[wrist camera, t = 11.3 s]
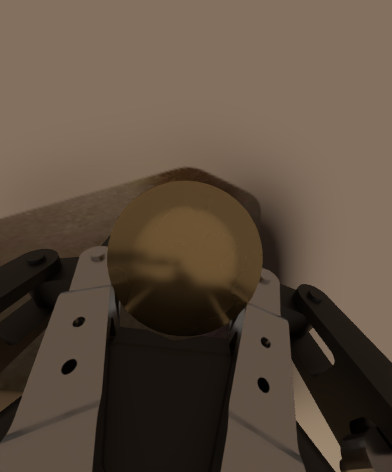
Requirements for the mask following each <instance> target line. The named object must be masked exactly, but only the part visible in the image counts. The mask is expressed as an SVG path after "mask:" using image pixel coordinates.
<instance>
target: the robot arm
mask: <svg viewBox="0 0 392 472" xmlns="http://www.w3.org/2000/svg"><path fill="white" fill-rule="evenodd" d="M110 236H111V235H110ZM110 236H109V237H108V239H107V240H106V241H105V242H104V243H103V244H102V245H101V246H97V247H92V248H90V249H87V250H86V251H84V252H83V253H82V254H81V255H80V257H73V258H59V255H58V253H57V252H56V251H54V250H51V249H40V250H35V251H31V252H28V253H26V254H24V255H22V256H20V257H18V258H16V259H14V260H12V261H10V262H8V263H6V264H5V265H3V266H1V267H0V313H1V312H3V311H4V310H5V309H7V308H8V307H9V306H11V305H12V304H14V303H15V302H16V301H18V300H19V299H21V298H22V297H23V296H25V295H26V294H27V293H29V294H30V296H31V297H32V298H31V299H30V300H29V301H27V302H26V303H25V304H23V305H22V306H21V307H20V308H18V309H17V310H16V311H14V312H13V313H12V314H10V315H9V316H8V317H6V318H5V319H4V320H2V321H1V322H0V372H1V371H2V370H4V369H5V368H6V367H7V366H8V365H9V364H10V363H11V362H12V361H13V360H14V359H15V358H16V357H17V356H18V355H19V354H20V353H21V352H22V351H23V350H24V349H25V348H26V347H27V346H28V345H29V344H30V343H31V342H32V341H33V340H35V339H36V338H37V337H38V336H39V335H40V334H41V333H42V332H43V331H44V330H45V329H46V328H47V329H46V332H45V335H44V337H43V340H42V343H41V346H40V348H39V351H38V354H37V357H36V360H35V362H34V365H33V368H32V371H31V373H30V376H29V379H28V382H27V384H26V387H25V390H24V393H23V395H22V396H21V397H19V398H18V399H17V400H15V401H14V402H13V403H11V404H10V405H9V406H8V407H6V408H5V409H4V410H2V411H1V412H0V472H335V471H334V469H333V468H332V467H331V465H330V464H329V463H328V461H327V460H326V459H325V458H324V456H323V455H322V454H321V452H320V451H319V450H318V448H317V447H316V446H315V445H314V443H313V442H312V440H311V439H310V438H309V437H308V435H307V434H306V433H305V431H304V430H303V429H302V427H301V426H300V425H299V423H298V422H297V421H296V418H295V404H294V392H293V377H292V363H291V359H292V361H293V363H294V364H295V366H296V368H297V370H298V371H299V373H300V375H301V377H302V379H303V381H304V382H305V384H306V386H307V388H308V389H309V391H310V393H311V394H312V397H313V398H314V400H315V402H316V404H317V406H318V407H319V409H320V411H321V413H322V415H323V416H324V418H325V420H326V422H327V423H328V425H329V427H330V429H331V431H332V432H333V434H334V436H335V438H336V440H337V441H338V443H339V445H340V447H341V456H342V459H341V460H340V470H341V472H392V363H391V362H390V361H389V360H388V359H387V357H386V356H385V355H384V354H383V353H382V352H381V351H380V350H379V349H378V348H377V347H376V346H375V345H374V344H373V343H372V342H371V341H370V340H369V339H368V338H367V337H366V336H365V335H364V334H363V333H362V332H361V331H360V330H359V328H357V326H356V325H355V324H354V323H353V322H352V321H351V320H350V319H349V318H348V317H347V316H346V315H345V314H344V313H343V312H342V311H341V310H340V309H339V308H338V307H337V306H336V305H335V304H334V303H333V302H332V301H331V300H330V299H329V298H328V296H327V295H325V294H324V293H323V292H322V291H321V290H319V289H317V288H316V287H313V286H311V285H307V284H302V285H300V286H299V287H298V288H297V289H296V290H295V289H292V288H290V287H287V286H284V285H282V284H280V283H279V280H278V278H277V277H276V276H275V275H274V274H273V273H272V272H270V271H269V270H266V269H265V268H264V266H263V264H262V271H261V276H260V280H259V283H258V286H257V288H256V290H255V292H254V295H253V297H252V298H251V300H250V301H249V303H248V302H247V303H246V306H245V308H244V309H243V310H242V311H241V313H240V314H238V315H237V316H236V317H235V318H234V319H233V320H232V321H230V325H229V329H228V333H227V337H226V339H224V338H215V337H206V336H200V337H195V338H189V339H183V340H178V341H173V340H170V339H167V338H165V337H163V336H160V335H158V334H155V333H153V332H150V331H148V330H143V329H134V328H124V327H120V301H119V299H118V297H117V296H116V294H115V292H114V289H113V287H112V285H111V281H110V278H109V274H108V267H107V250H108V243H109V239H110ZM312 328H314V329H315V331H316V332H317V333H318V335H319V336H320V337H321V338H322V340H323V341H324V342H325V344H326V345H327V346H328V348H329V349H330V351H331V352H332V354H333V356H334V359H335V363H334V365H332V364H331V363H330V361H329V360H328V358H327V357H326V355H325V354H324V353H323V351H322V350H321V349H320V347H319V346H318V344H317V343H316V342H315V340H314V339H313V337H312V336H311V335H310V333H309V331H310V330H311V329H312Z"/></svg>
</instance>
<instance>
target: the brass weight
mask: <svg viewBox="0 0 392 472" xmlns="http://www.w3.org/2000/svg"><path fill="white" fill-rule="evenodd" d="M262 259H263V256H262V246H261V241H260V237H259V234H258V231H257V228H256V226H255V224H254V222H253V220H252V218H251V217H250V215H249V214H248V212H247V211H246V210H245V209H244V207H243V206H242V205H241V204H240V203H239V202H238V201H237V200H236V199H234V198H233V197H232V196H231V195H229V194H228V193H226V192H224V191H223V190H221V189H219V188H217V187H215V186H212V185H209V184H206V183H202V182H197V181H174V182H168V183H164V184H161V185H158V186H155V187H153V188H151V189H149V190H147V191H145V192H144V193H142V194H141V195H139V196H138V197H137V198H135V199H134V200H133V201H132V202H131V203H130V204H129V205H128V206H127V207H126V208H125V209H124V211H123V212H122V213H121V215H120V216H119V218H118V220H117V221H116V223H115V225H114V228H113V230H112V232H111V236H110V239H109V243H108V250H107V267H108V274H109V278H110V281H111V285H112V287H113V289H114V292H115V294H116V296H117V297H118V299H119V301H120V302H121V304H122V305H123V306H124V307H125V309H126V310H127V311H128V312H129V313H130V314H131V315H132V316H133V317H134V318H135V319H137V320H138V321H139V322H141V323H142V324H144V325H145V326H147V327H149V328H151V329H153V330H156V331H158V332H161V333H165V334H168V335H176V336H194V335H200V334H204V333H208V332H211V331H214V330H216V329H218V328H220V327H222V326H224V325H225V324H227V323H228V322H230V321H232V320H233V319H234V318H235V317H236V316H237V315H238V314H240V313H241V311H242V310H243V309H244V308H245V306H246V303H247V302H248V303H249V301H250V300H251V298H252V297H253V295H254V292H255V290H256V288H257V286H258V283H259V280H260V276H261V271H262Z"/></svg>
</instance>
